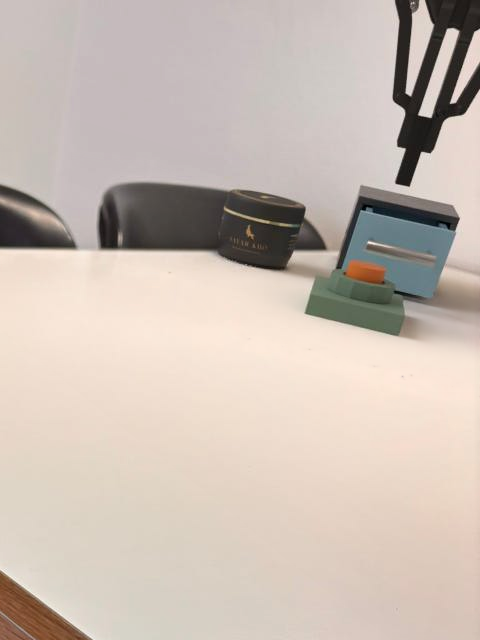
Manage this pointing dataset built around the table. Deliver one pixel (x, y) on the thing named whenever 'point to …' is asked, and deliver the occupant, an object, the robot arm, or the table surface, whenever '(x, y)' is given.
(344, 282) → the panel
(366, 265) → the button
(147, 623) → the table surface
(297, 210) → the jar
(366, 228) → the drawer
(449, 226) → the drawer cabinet
